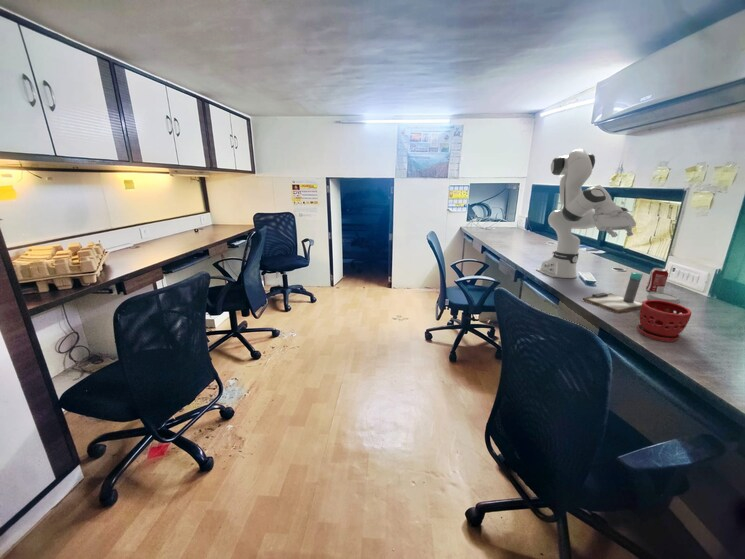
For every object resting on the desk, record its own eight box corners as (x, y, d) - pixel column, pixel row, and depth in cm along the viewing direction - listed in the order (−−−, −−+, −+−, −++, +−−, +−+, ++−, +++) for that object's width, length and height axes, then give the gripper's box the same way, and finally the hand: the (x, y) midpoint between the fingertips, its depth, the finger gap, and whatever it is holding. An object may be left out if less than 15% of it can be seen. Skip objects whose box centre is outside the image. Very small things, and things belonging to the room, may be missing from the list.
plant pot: (626, 331, 118) (634, 302, 114) (648, 326, 122) (657, 297, 119) (667, 348, 106) (677, 315, 103) (690, 341, 110) (701, 310, 107)
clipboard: (582, 300, 149) (583, 295, 148) (610, 295, 155) (611, 291, 154) (617, 313, 134) (618, 307, 134) (646, 307, 140) (647, 302, 140)
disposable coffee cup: (633, 318, 129) (641, 291, 125) (657, 319, 128) (665, 291, 125) (652, 329, 120) (661, 300, 116) (678, 329, 119) (687, 300, 116)
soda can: (666, 294, 156) (673, 271, 153) (650, 293, 158) (657, 270, 154) (657, 289, 163) (663, 267, 159) (642, 289, 164) (648, 267, 160)
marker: (620, 300, 145) (629, 272, 140) (626, 299, 146) (634, 272, 142) (630, 303, 141) (639, 275, 137) (635, 302, 142) (644, 274, 138)
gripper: (596, 209, 149) (611, 233, 143) (629, 208, 153) (645, 231, 147) (586, 218, 154) (600, 241, 148) (619, 216, 159) (633, 238, 153)
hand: (623, 236), depth 148 cm, fingers open, 8 cm apart
